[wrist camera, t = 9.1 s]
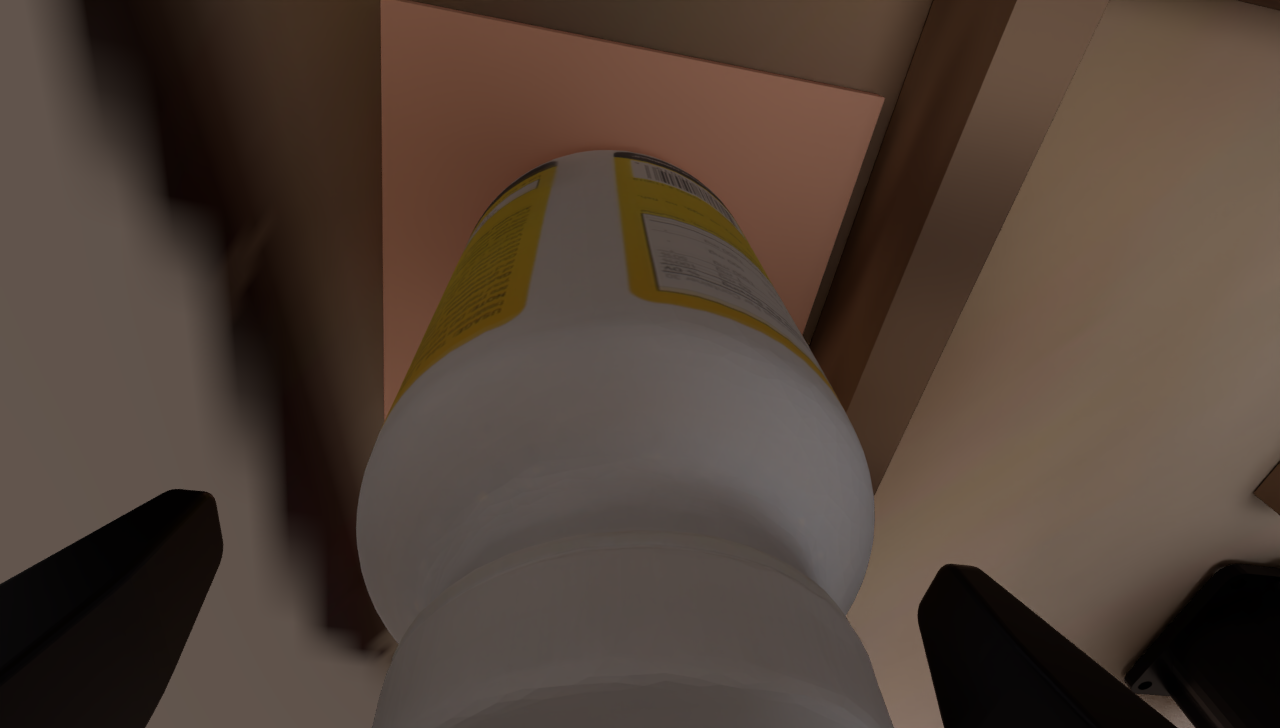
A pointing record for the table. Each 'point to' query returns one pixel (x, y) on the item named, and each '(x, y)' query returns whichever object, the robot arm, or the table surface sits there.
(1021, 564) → the table surface
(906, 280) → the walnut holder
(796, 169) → the terracotta mat
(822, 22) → the table surface
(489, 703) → the pill bottle
